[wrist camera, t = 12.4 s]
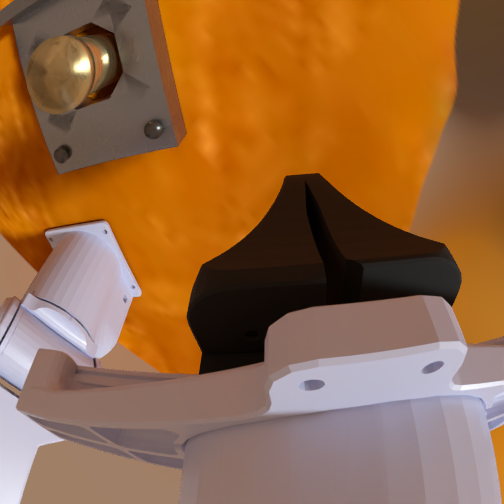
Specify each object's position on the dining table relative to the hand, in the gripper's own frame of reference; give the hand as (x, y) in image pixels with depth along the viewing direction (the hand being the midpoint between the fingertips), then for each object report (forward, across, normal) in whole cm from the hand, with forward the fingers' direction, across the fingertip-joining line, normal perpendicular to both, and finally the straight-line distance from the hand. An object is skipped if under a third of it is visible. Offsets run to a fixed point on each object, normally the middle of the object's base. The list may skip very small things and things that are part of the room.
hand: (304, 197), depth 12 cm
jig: (+10, +12, -7) cm, 17 cm away
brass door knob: (+10, +12, -7) cm, 17 cm away
